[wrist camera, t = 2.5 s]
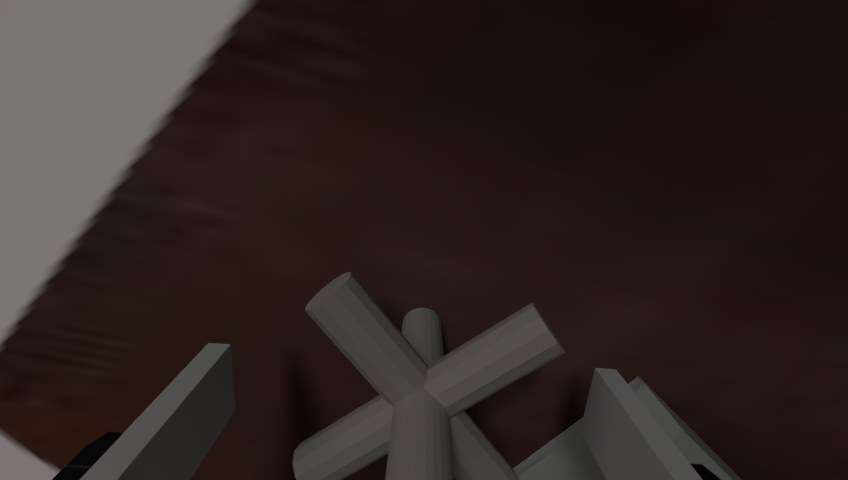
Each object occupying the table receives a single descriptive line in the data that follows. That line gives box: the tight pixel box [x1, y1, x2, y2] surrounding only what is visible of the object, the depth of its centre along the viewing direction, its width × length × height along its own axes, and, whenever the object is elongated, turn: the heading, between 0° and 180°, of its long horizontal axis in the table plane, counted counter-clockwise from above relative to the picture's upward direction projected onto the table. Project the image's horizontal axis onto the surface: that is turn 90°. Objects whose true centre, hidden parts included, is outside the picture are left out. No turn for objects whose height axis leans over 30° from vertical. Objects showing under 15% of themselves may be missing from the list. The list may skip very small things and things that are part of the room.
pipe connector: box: [292, 272, 565, 480], centre depth 13 cm, size 10×10×10 cm
